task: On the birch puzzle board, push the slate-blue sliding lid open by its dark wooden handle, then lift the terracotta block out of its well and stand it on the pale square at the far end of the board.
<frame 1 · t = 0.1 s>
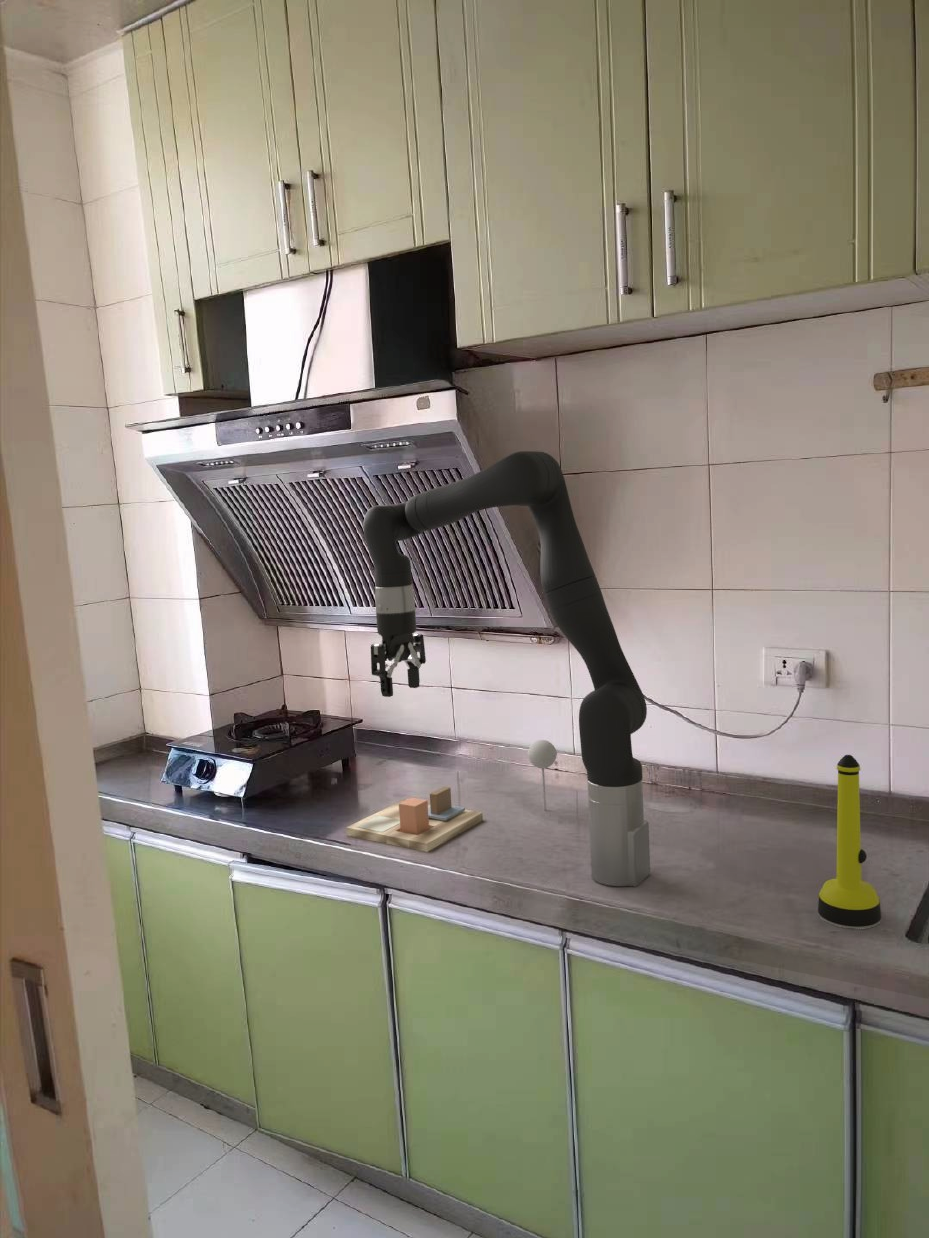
hand: (401, 691, 183), 29 cm above the worktop, tool pointing down, fingers open, 8 cm apart
flashlight: (849, 916, 142), on the worktop
lid: (440, 801, 191), point 5 cm above the worktop, slide at 0.0 cm
block: (415, 836, 185), resting on board
lollipop: (544, 810, 196), on the worktop
board: (415, 829, 190), on the worktop
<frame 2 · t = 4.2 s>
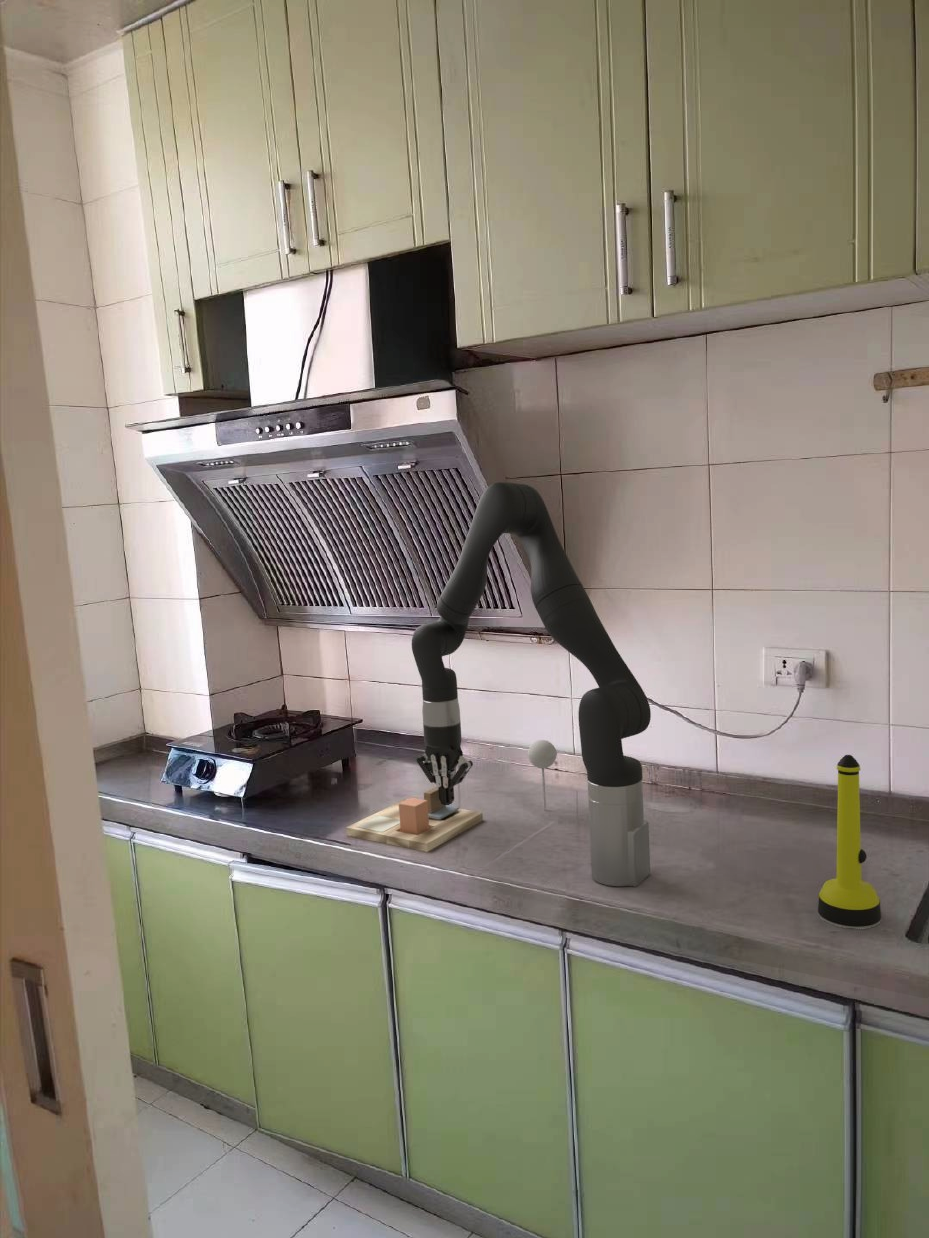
hand: (446, 803, 191), 4 cm above the worktop, tool pointing down, fingers closed
lid: (434, 800, 192), point 5 cm above the worktop, slide at 1.5 cm, touching gripper
everything else where it was.
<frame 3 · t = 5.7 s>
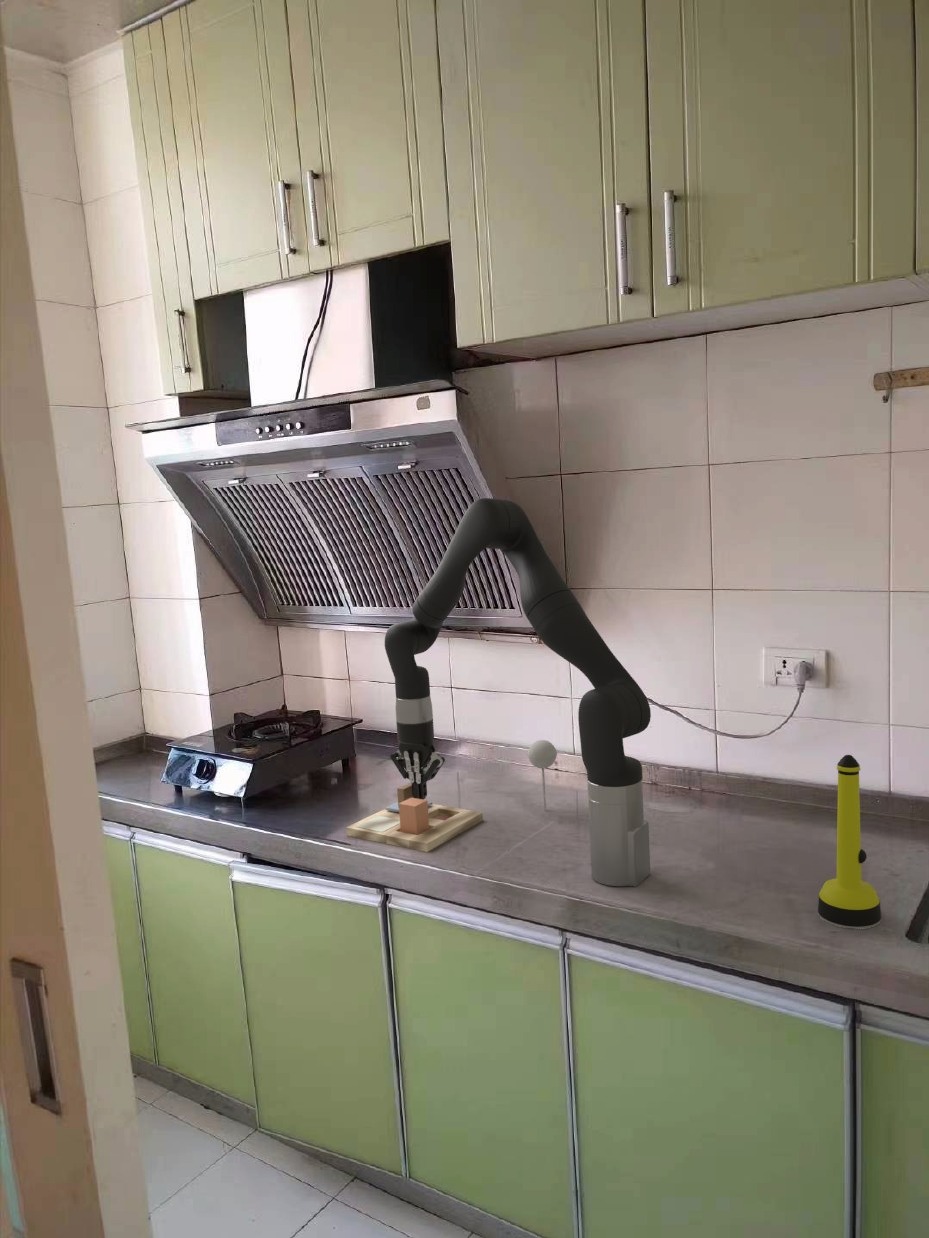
hand: (419, 799, 194), 4 cm above the worktop, tool pointing down, fingers closed
lid: (408, 796, 196), point 5 cm above the worktop, slide at 8.3 cm, touching gripper
everything else where it was.
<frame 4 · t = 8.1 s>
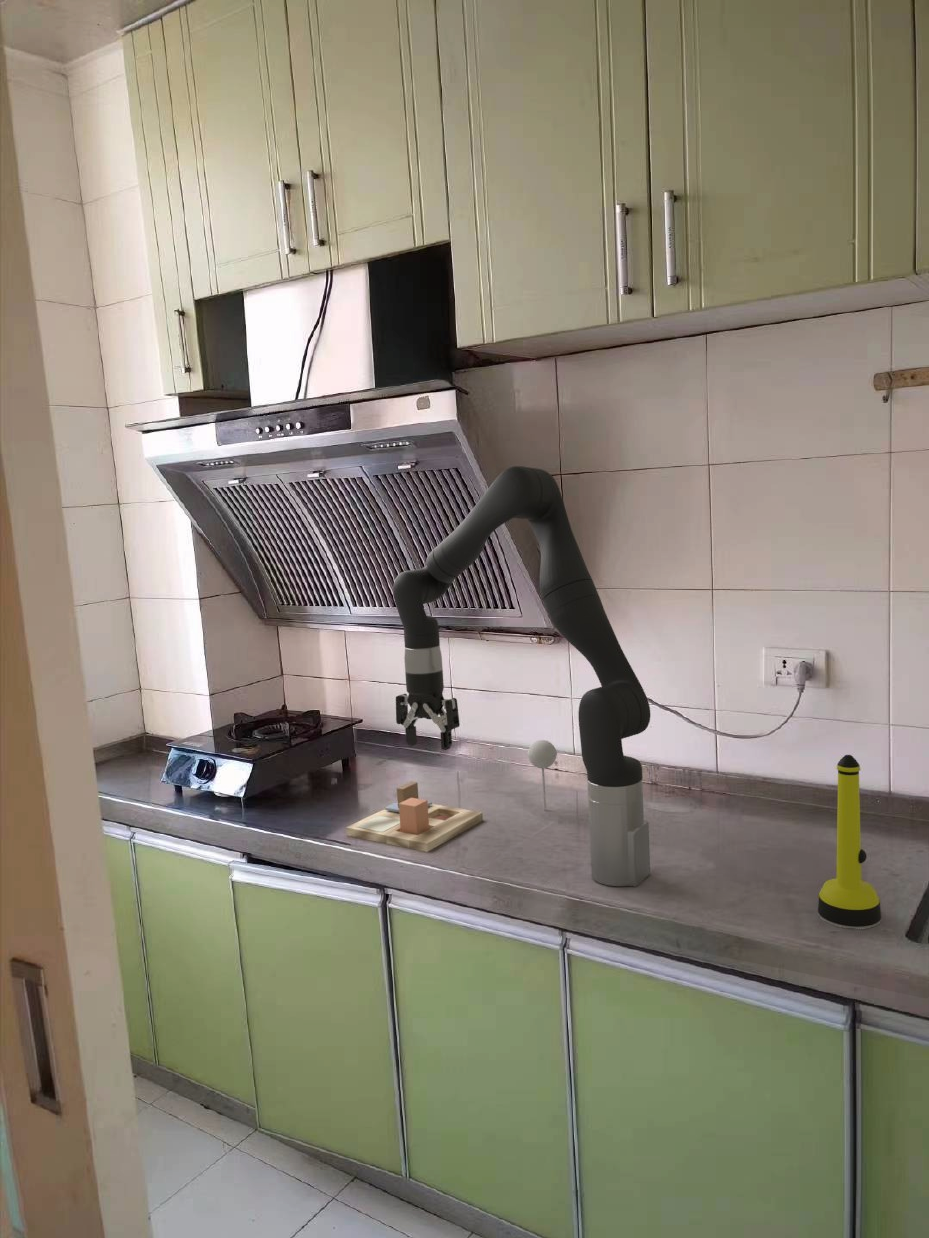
hand: (429, 747, 190), 16 cm above the worktop, tool pointing down, fingers open, 8 cm apart
lid: (407, 796, 196), point 5 cm above the worktop, slide at 8.5 cm
everything else where it was.
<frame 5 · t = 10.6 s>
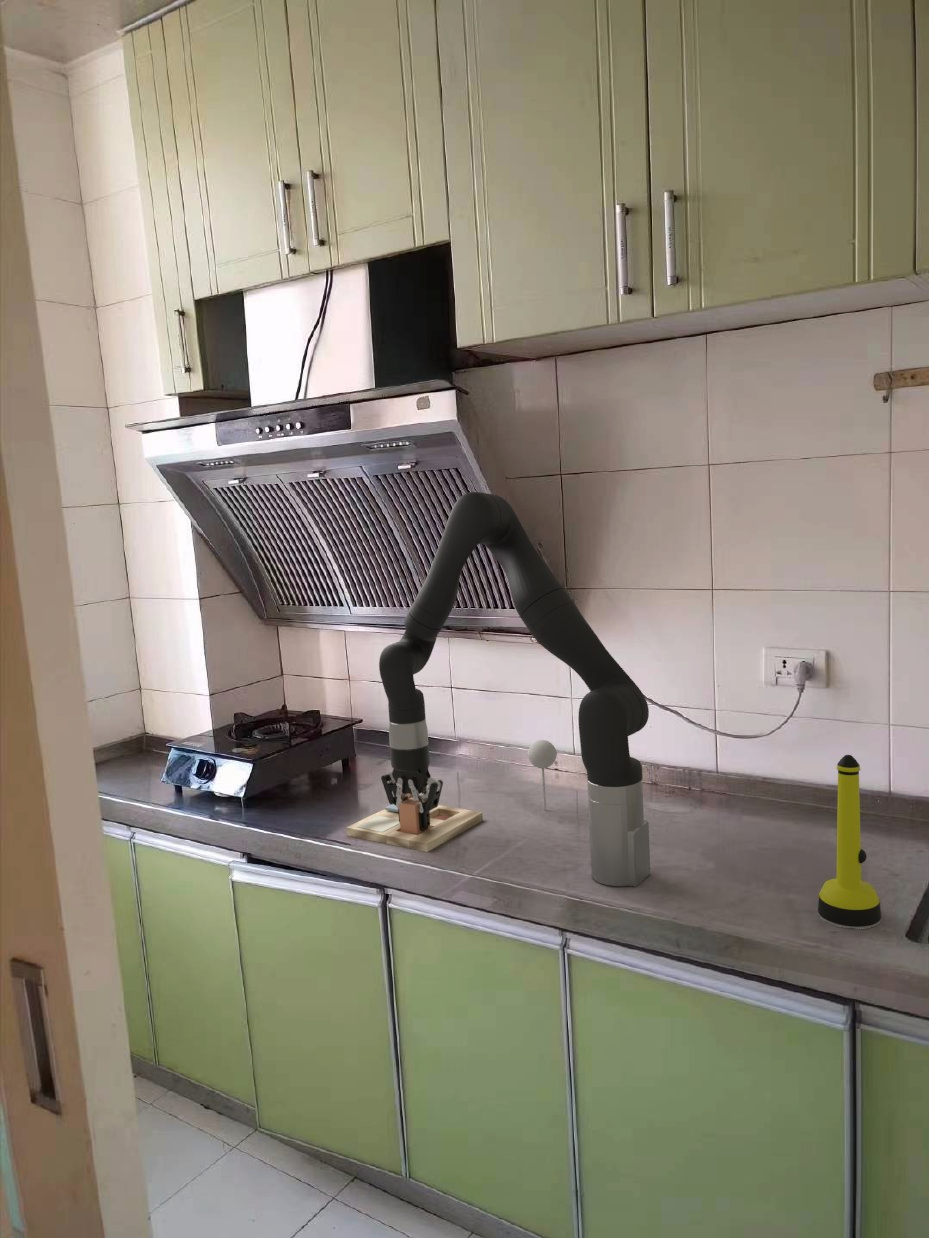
hand: (414, 827, 184), 2 cm above the worktop, tool pointing down, fingers closed on block, 4 cm apart
block: (415, 836, 185), resting on board, touching gripper
everything else where it was.
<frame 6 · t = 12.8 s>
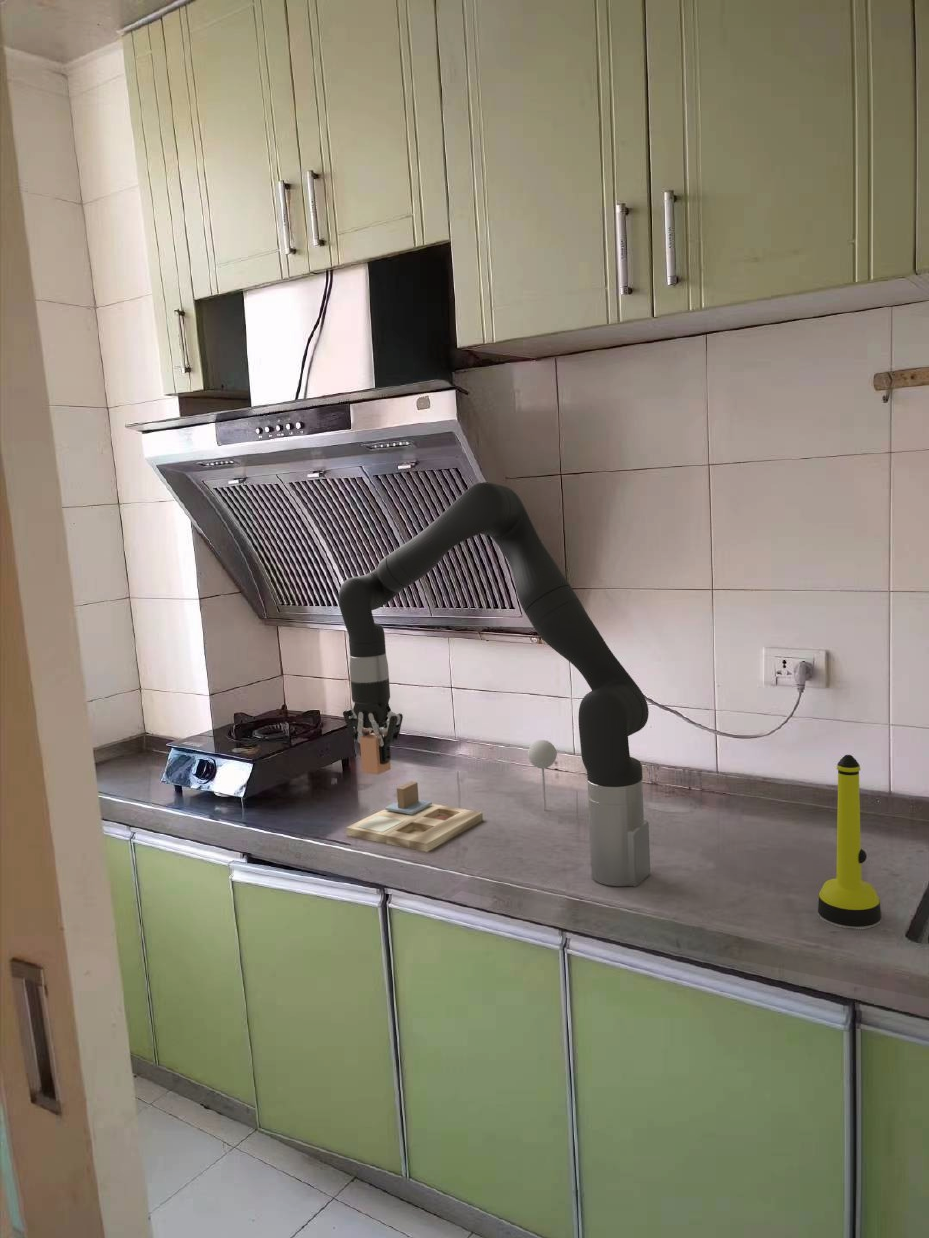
hand: (375, 761, 186), 15 cm above the worktop, tool pointing down, fingers closed on block, 4 cm apart
block: (376, 770, 187), point 13 cm above the worktop, touching gripper
everything else where it was.
when the fingers open (5 cm above the worktop, at t = 14.9 s): block stays where it is, resting on board.
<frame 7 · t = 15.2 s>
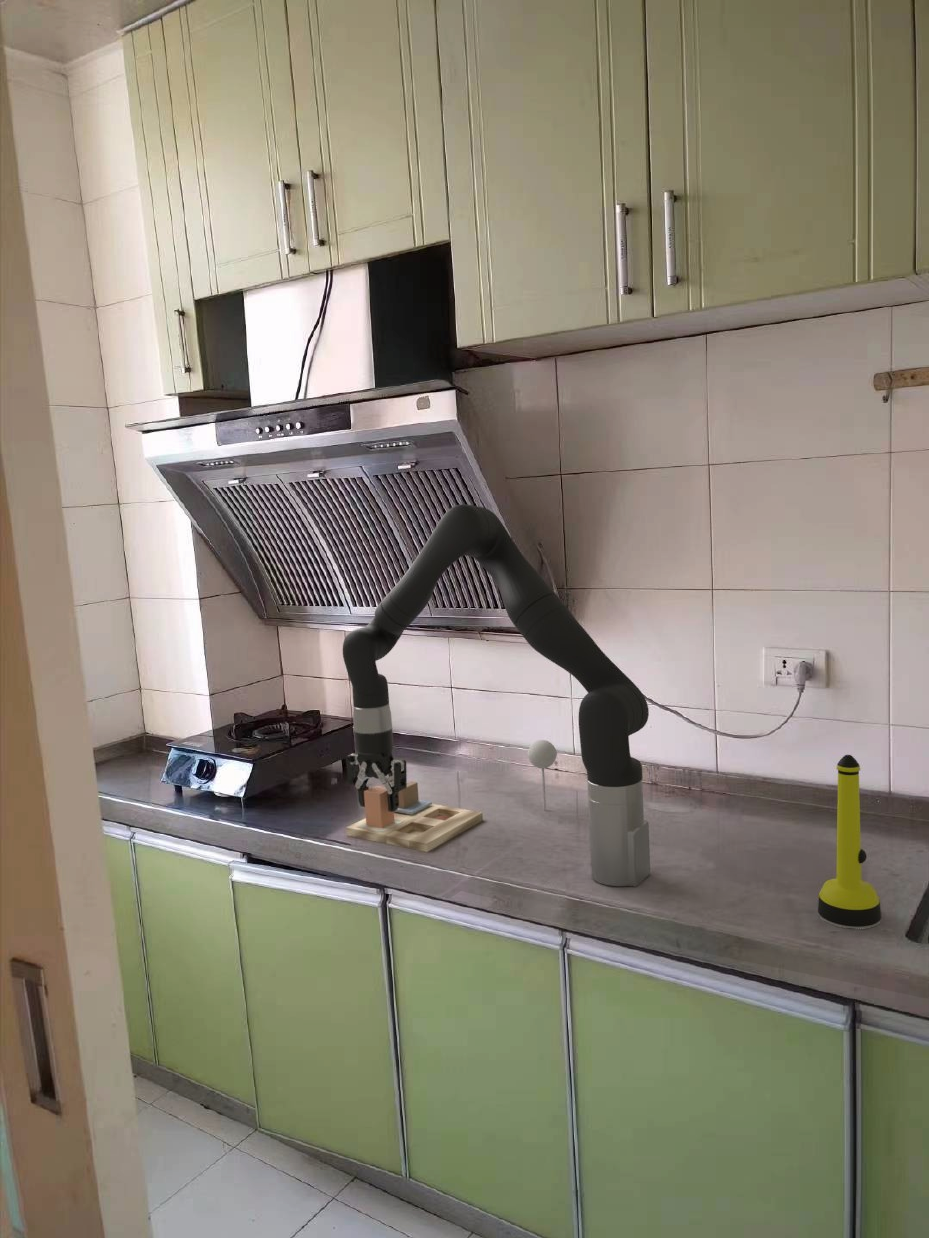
hand: (378, 807, 188), 5 cm above the worktop, tool pointing down, fingers open, 6 cm apart
block: (380, 823, 188), point 2 cm above the worktop, touching board
everything else where it was.
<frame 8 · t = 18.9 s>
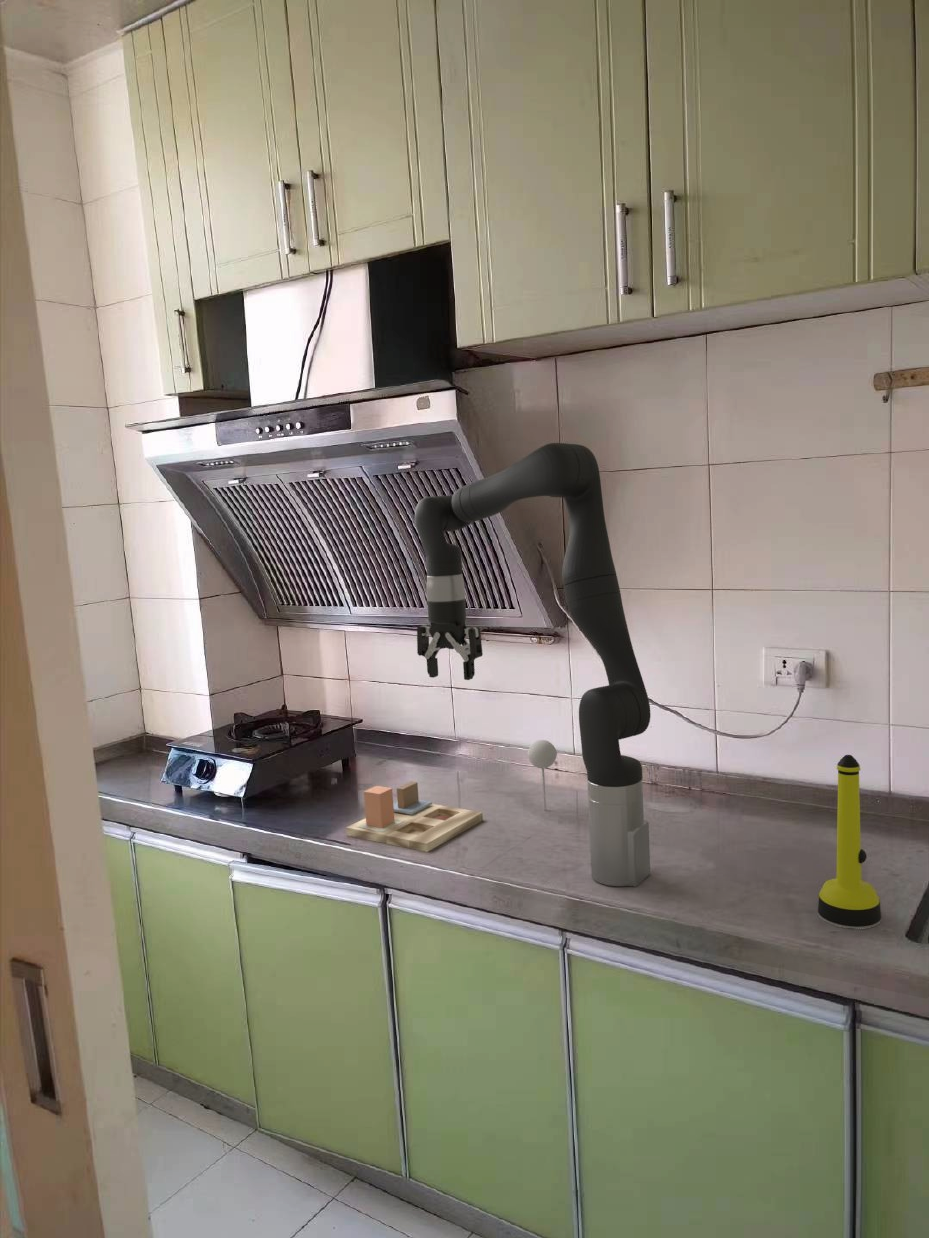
hand: (451, 678, 188), 30 cm above the worktop, tool pointing down, fingers open, 8 cm apart
nothing on the worktop moved.
at the end: lid slide at 8.5 cm; block inside the target area (0.1 cm from its centre), point 2.1 cm above the worktop; block tilted 0° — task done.
